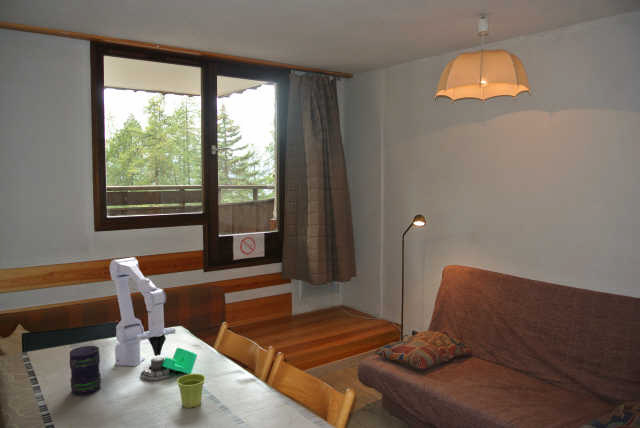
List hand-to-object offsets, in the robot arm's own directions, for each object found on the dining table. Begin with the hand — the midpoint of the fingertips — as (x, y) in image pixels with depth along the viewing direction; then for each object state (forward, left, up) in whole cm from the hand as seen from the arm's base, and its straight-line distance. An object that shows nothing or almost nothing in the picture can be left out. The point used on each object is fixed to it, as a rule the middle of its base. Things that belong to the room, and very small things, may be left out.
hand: (157, 354), depth 187 cm
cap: (0, 0, -7) cm, 7 cm away
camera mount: (+10, +6, -5) cm, 12 cm away
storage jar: (-20, -16, -8) cm, 27 cm away
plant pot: (+23, -23, -8) cm, 33 cm away
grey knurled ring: (0, 0, -8) cm, 8 cm away
